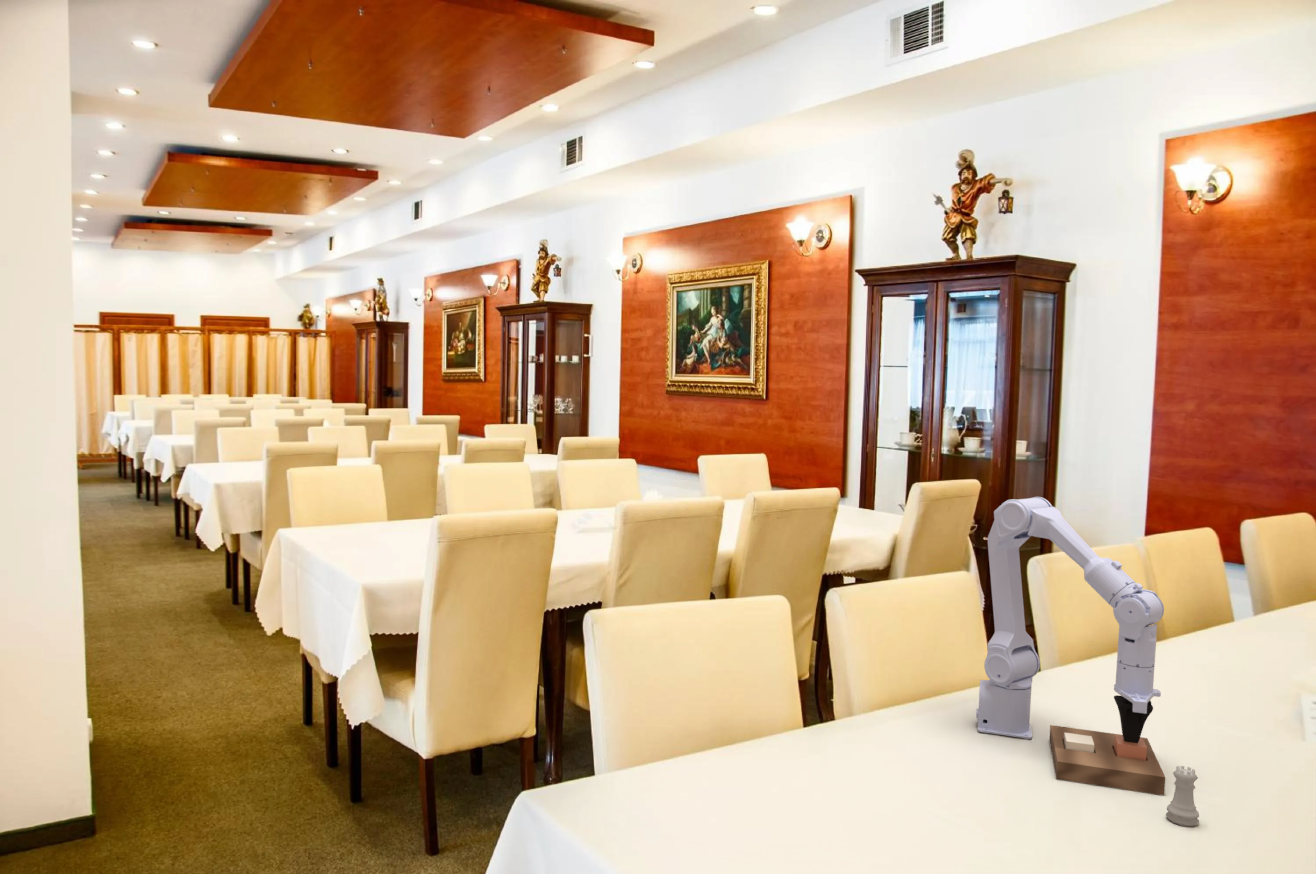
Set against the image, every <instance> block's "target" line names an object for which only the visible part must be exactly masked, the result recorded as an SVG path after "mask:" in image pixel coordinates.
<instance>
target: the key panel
mask: <svg viewBox="0 0 1316 874" xmlns="http://www.w3.org/2000/svg"><path fill="white" fill-rule="evenodd" d="M1049 727H1050V728H1049V746H1050V752H1051V756H1052V763H1053V768H1054V774H1055V778H1056V780H1059V781H1060V780H1061V781H1068V782H1073V783H1080V784H1086V785H1087V784H1088V785H1093V786H1100V787H1106V788H1112V789H1119V790H1125V791H1132V792H1140V793H1145V794H1146V793H1147V794H1151V795H1157V796H1165V790H1166V789H1165V787H1166V776H1165V774H1164V772H1163V769H1162V767H1161V765H1160V762H1159V760H1158V759H1157V756H1156V754H1155V752H1154V750H1153V747H1152V745H1151V743H1150V741H1149V739H1148V738H1147V737H1141V736H1140V738H1143V740H1144V742H1145V744H1146V747H1147V754H1146V760H1140V759H1133V758H1126V757H1119V756H1115V753H1114V737H1115V735H1121V736H1123V734H1118V733H1111V732H1105V731H1099V730H1098V731H1097V730H1091V729H1089V730H1088V729H1083V728H1074V727H1067V726H1060V725H1052V724H1050V725H1049ZM1064 732H1065V733H1072V734H1079V735H1086V736H1092V739H1093V742H1094V753H1091V752H1084V751H1077V750H1070V749H1064Z"/></svg>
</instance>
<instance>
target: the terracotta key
mask: <svg viewBox="0 0 1316 874" xmlns="http://www.w3.org/2000/svg"><path fill="white" fill-rule="evenodd" d="M1121 735H1122V734H1120V735H1115V737H1114V753H1115V756H1119V757H1126V758H1133V759H1140V760H1146V754H1147V747H1146V744H1145V742H1144V740H1143V738H1144V737H1142V738H1140V739H1139V742H1138V743H1131V742H1125V741H1124V738H1123V736H1121Z"/></svg>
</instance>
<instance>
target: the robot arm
mask: <svg viewBox="0 0 1316 874" xmlns="http://www.w3.org/2000/svg"><path fill="white" fill-rule="evenodd" d="M993 519H994V520H993V522H992V526H991V528H990V531H989V533H988V535H987V550H988V551H987V552H988V562H989V575H990V588H991V600H992V612H993V614H992V615H993V624H994V633H993V635H992V636H991V638H990V640H989V641H988V643H987V647H986V648H987V654H986V656H985V660H984V662H983V663H984V664H983V665H984V666H983V668H984V671H985V674H986V677H987V678H988V679H980V680H979V690H978V691H979V692H978V694H979V695H978V708H976V716H975V718H976V719H977V732H979V733H986V734H991V735H992V734H994V735H997V736H1000V735H1001V736H1007V737H1012V738H1013V737H1014V738H1022V739H1028V740H1032V739H1033V733H1032V727H1031V722H1030V719H1031V718H1030V717H1031V702H1032V701H1031V699H1032V683H1033V677H1035V676H1036V675H1037V674H1038V673H1039V671H1040V667H1041V661H1040V656H1039V655H1038V653H1037V652H1036V649H1035V645H1034V639H1033V638H1032V637H1031V636H1030V634H1029V633H1028V632H1027V631H1026V630H1027V629H1026V620H1025V607H1024V598H1023V597H1024V596H1023V595H1024V594H1023V583H1022V573H1021V570H1022V569H1021V560H1020V548H1021V546H1022V545H1023V544H1025V543H1026V541H1028V540H1029V539H1030V538H1031V537H1035V538H1042V539H1047V540H1050V541H1051V542H1053V544H1054V545H1056V546H1057V547H1058V548H1059V550H1061V551H1062V552H1063V553H1064V554H1066V556H1068V558H1070V559H1071V560H1072V561H1074V562H1075V564H1077V565H1078V566H1079V567H1080V568H1081V569H1083V577H1084V581H1085V583H1087V584H1088V585H1089V586H1090V587H1091V588H1093V590H1094V591H1095V592H1096V593H1097V594H1098V595H1099V596H1100V597H1101V598H1102V599H1103V600H1104V601H1105V602H1106V603H1107V604H1108V605H1109V606H1110V607H1111V608H1112V610H1113V611H1112V612H1113V616H1114V619H1115V620H1116V622H1117V623H1118V626H1119V627H1118V636H1117V637H1118V641H1117V655H1116V656H1117V657H1116V672H1115V684H1114V685H1113V691H1114V692H1115V693H1117V695H1114V696H1113V699H1114V702H1115V705H1117V710H1118V714H1119V720H1120V727H1121V733H1122V734H1121V735H1123V738H1124V741H1125V742H1131V743H1138V742H1139V739H1140V737H1141V735H1142V732H1143V729H1144V726H1145V723H1146V721H1147V719H1148V717H1149V716H1150V715H1151V714H1152V712H1153V711H1154V706H1153V705H1152V699H1153V698H1154V697H1157V698H1158V697H1161V695H1162V692H1161V691H1160V690H1159V689H1157V688H1154V679H1155V666H1156V647H1157V633H1158V632H1157V631H1158V630H1157V629H1158V624H1157V623H1158V622H1159V621H1161V620H1162V618H1163V616H1164V614H1165V613H1164V612H1165V607H1164V603H1163V601H1162V600H1161V598H1160V597H1159V596H1158V594H1157V592H1155V591H1153V590H1149V589H1143V588H1144V586H1143V585H1142V584H1141V583H1140V582H1136V581H1135V580H1134V579H1132V577H1131V576H1130V575H1129V574H1127V573H1126V572H1125V570H1123V569H1122V567H1123V564H1122V563H1121V562H1120V561H1119V560H1114V559H1112V558H1110V557H1100V556H1099V555H1098V554H1097V553H1096V552H1095V551H1094V550H1093V549H1092V548H1091V546H1090V545H1088V544H1087V542H1086V541H1085V540H1084V539H1083V537H1081V536H1080V535H1079V534H1078V532H1076V530H1075V529H1074V528H1073V527H1072V526H1071V525H1070V524H1069V523H1068V522H1067V521H1066V520H1065V518H1064V517H1063V515H1062V513H1061V511H1060V510H1059V509H1058V508H1056V507H1055V506H1053V505H1052V504H1051V502H1049V500H1047V499H1046V498H1044V497H1041V496H1033V497H1030V498H1029V497H1028V498H1019V499H1013V498H1012V499H1007V500H1006V501H1004V502H1002V503H1001V505H999V506H998V507H997V508H996V509H995V510H994V511H993Z"/></svg>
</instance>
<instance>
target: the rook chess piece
mask: <svg viewBox="0 0 1316 874" xmlns="http://www.w3.org/2000/svg"><path fill="white" fill-rule="evenodd" d="M1175 767H1176V769H1175V770H1174V771H1173V772H1172V773H1173V776H1174V777H1175V781H1174V782H1173V784H1174V786H1175V789H1174V794H1173V797H1172V800H1171V801H1170V803H1169V804H1167V807H1166V811H1167V812H1166V813H1165V816H1166V817H1167V819H1168V820H1169V821H1170V822H1171V823H1173V824H1175V825H1178V826H1181V827H1185V828H1186V827H1187V828H1191V827H1195V826H1197V825H1198V824H1199V823H1200V820H1199V819H1198V818H1200V814H1199V811H1198V809H1197V806H1196V804H1195V799H1194V790H1195V789H1196V786H1195V782H1196V781H1197V780H1198V776H1197V774H1196V769H1194V768H1191V767H1189V766H1187V769H1186V768H1185V766H1184V765H1180V766H1179V765H1178V766H1175Z"/></svg>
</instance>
